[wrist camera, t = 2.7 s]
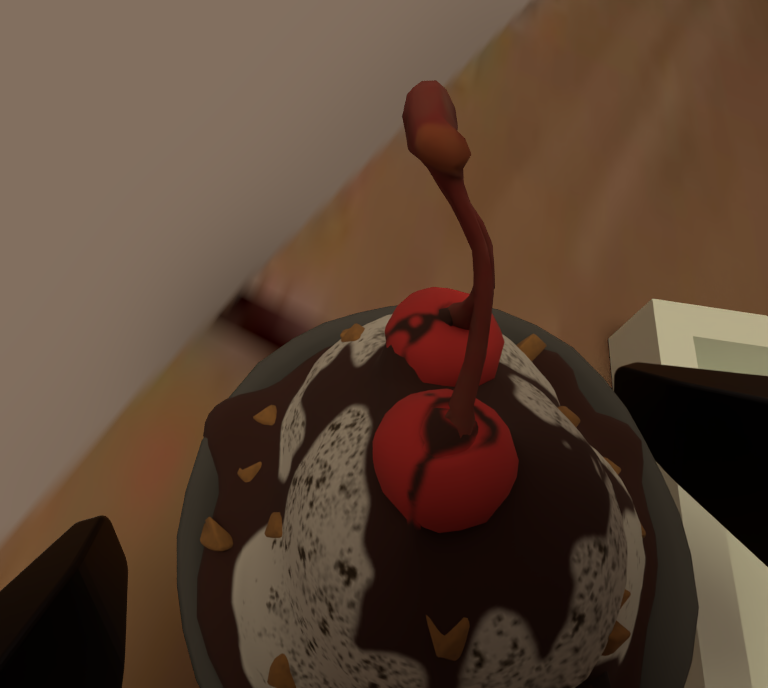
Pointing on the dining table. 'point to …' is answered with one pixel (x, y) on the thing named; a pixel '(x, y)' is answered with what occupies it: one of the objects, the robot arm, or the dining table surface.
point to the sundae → (432, 501)
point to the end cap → (704, 533)
